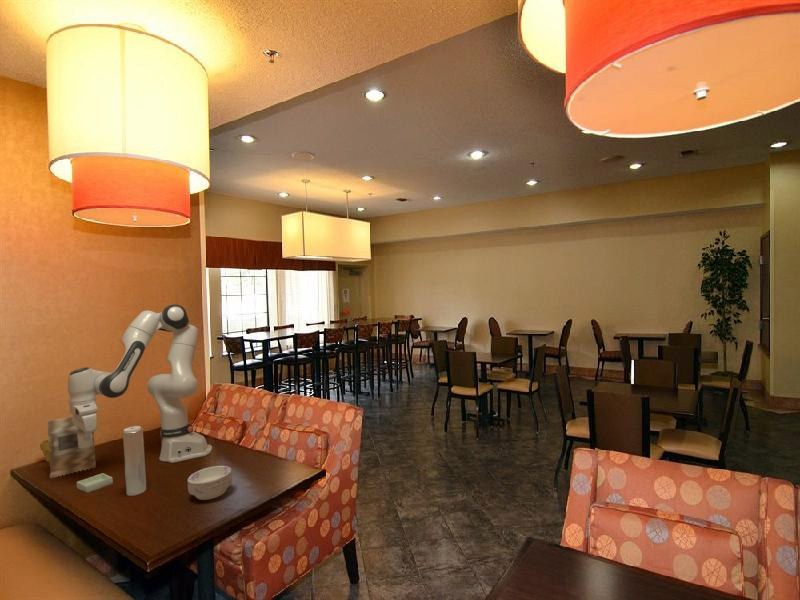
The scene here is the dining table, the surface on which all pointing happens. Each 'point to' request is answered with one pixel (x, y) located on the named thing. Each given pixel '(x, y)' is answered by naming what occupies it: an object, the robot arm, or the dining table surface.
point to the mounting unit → (67, 449)
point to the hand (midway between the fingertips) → (85, 439)
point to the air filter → (134, 460)
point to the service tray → (94, 483)
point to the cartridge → (81, 441)
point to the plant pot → (45, 449)
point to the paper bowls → (210, 482)
